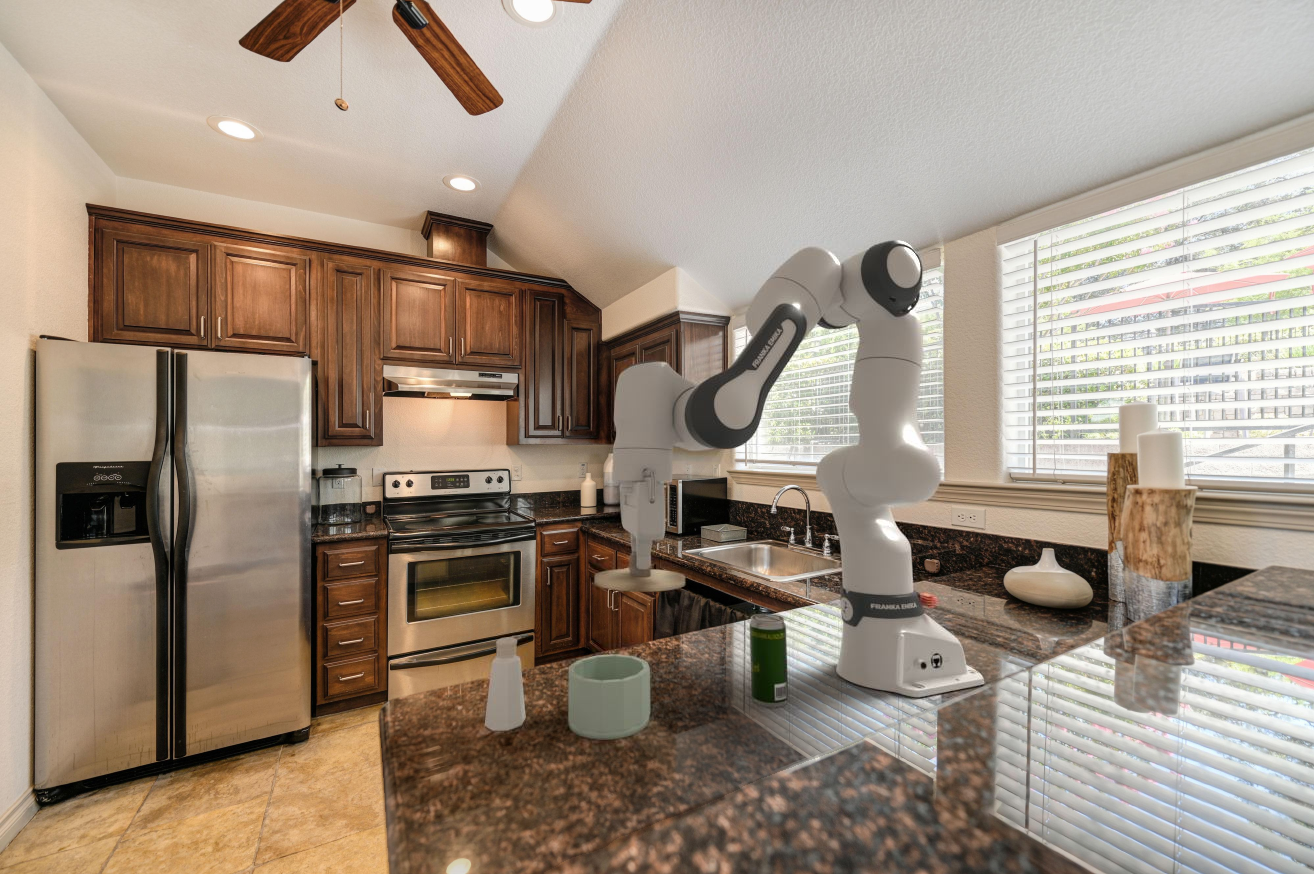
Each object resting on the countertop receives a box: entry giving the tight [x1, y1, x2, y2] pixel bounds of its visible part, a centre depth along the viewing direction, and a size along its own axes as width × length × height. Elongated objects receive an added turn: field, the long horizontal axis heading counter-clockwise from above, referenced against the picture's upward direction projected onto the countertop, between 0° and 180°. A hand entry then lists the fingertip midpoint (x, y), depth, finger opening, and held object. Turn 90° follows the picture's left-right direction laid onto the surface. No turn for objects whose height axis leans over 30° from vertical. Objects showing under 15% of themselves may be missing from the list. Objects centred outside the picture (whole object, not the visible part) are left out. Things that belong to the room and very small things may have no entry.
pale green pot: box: [567, 653, 651, 741], centre depth 72 cm, size 11×11×7 cm
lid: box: [594, 553, 686, 593], centre depth 75 cm, size 13×13×4 cm
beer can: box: [749, 613, 789, 708], centre depth 78 cm, size 5×5×12 cm
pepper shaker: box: [484, 636, 526, 732], centre depth 72 cm, size 5×5×11 cm
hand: (640, 566), depth 75 cm, fingers closed on lid, 3 cm apart
